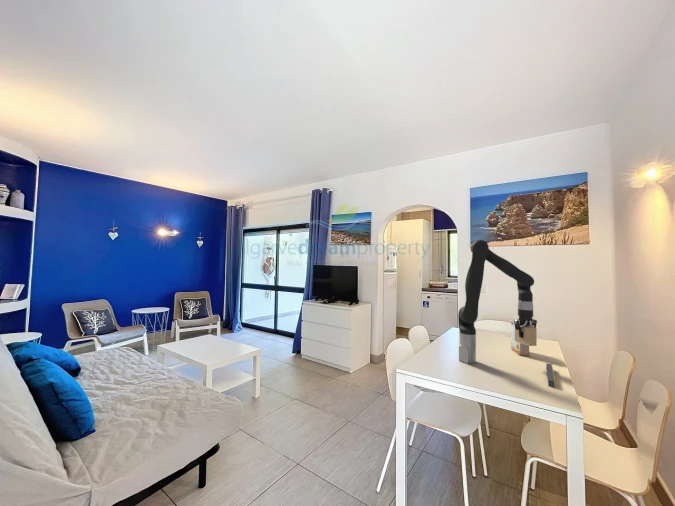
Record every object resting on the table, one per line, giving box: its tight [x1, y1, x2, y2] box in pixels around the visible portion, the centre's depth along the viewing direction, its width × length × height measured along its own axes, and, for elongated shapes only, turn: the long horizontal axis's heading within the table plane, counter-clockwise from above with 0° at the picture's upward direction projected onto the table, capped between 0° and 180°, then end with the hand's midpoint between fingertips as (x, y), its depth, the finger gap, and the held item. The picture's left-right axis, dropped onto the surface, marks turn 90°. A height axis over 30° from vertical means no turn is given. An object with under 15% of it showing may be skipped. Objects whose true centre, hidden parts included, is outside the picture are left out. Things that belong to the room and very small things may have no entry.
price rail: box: [545, 363, 556, 388], centre depth 148 cm, size 28×3×3 cm, turn 145°
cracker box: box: [510, 319, 530, 357], centre depth 188 cm, size 14×6×21 cm, turn 168°
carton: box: [515, 325, 538, 347], centre depth 162 cm, size 10×5×10 cm, turn 11°
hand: (525, 337), depth 162 cm, fingers closed on carton, 5 cm apart
